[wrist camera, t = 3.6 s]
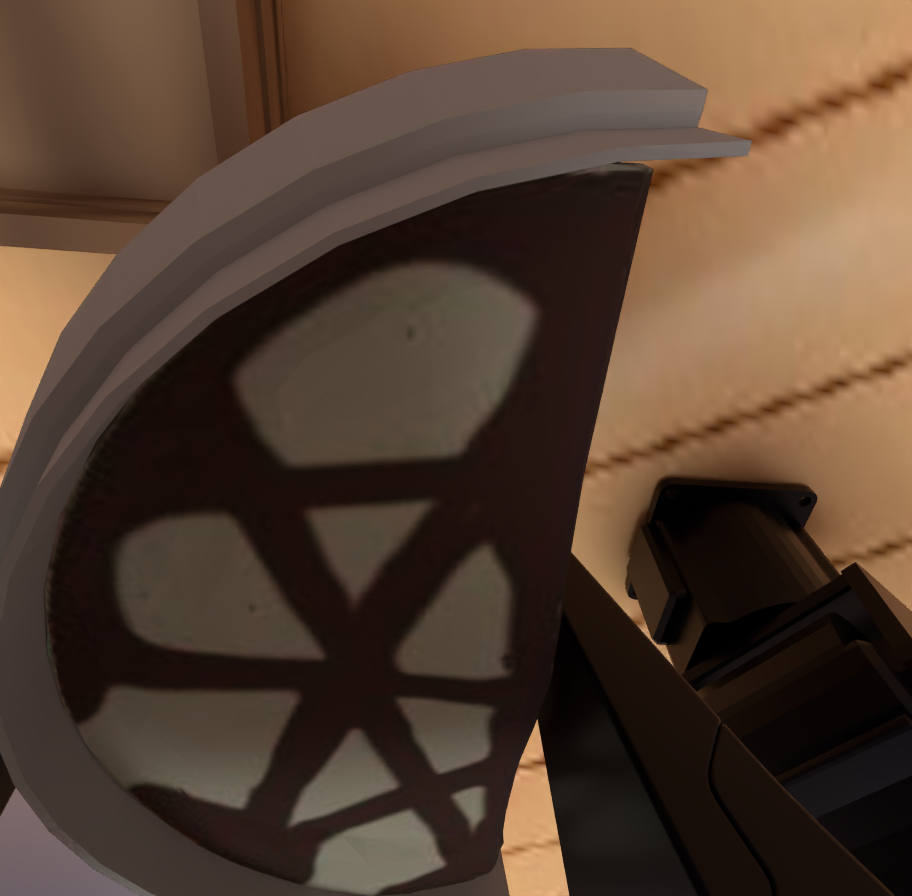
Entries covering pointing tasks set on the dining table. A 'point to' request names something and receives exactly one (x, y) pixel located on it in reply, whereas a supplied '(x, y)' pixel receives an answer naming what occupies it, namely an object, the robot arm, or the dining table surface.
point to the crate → (126, 109)
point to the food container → (328, 484)
